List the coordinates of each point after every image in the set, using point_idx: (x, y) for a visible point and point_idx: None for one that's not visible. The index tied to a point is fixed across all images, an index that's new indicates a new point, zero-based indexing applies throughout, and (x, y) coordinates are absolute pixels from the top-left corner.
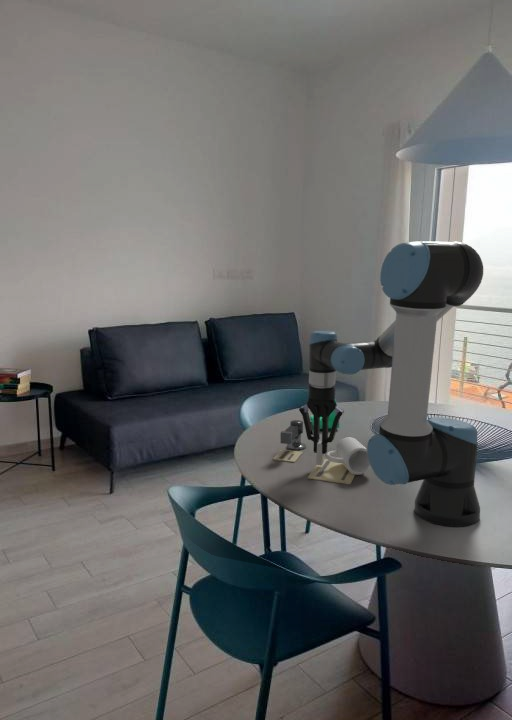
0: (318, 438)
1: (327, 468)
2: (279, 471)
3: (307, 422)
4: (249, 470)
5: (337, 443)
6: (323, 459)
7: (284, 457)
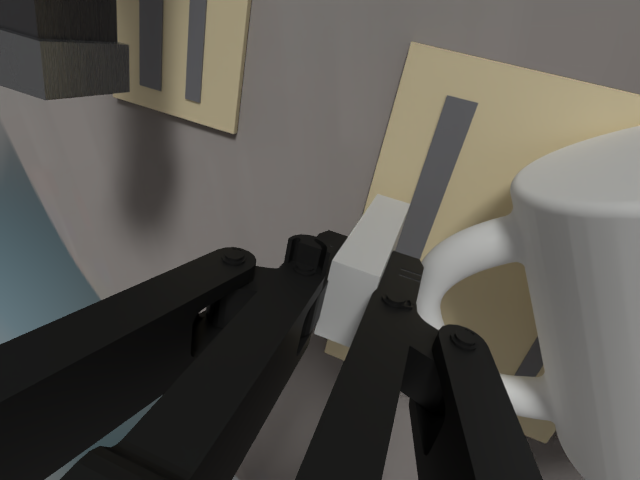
0: (313, 305)
1: (437, 242)
2: (191, 260)
3: (75, 447)
4: (78, 247)
5: (548, 210)
6: (406, 212)
7: (164, 64)
